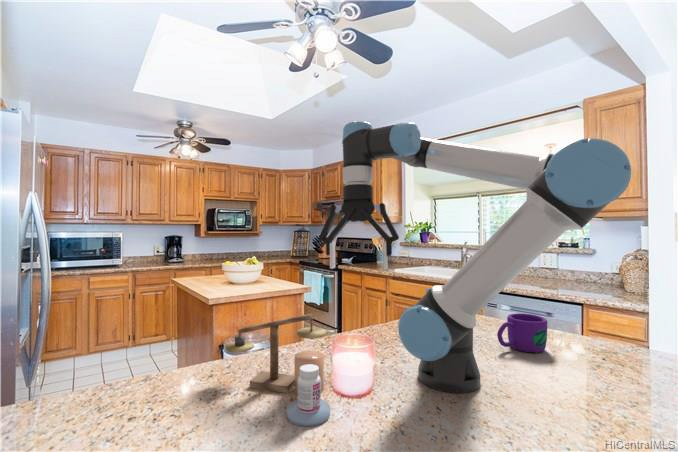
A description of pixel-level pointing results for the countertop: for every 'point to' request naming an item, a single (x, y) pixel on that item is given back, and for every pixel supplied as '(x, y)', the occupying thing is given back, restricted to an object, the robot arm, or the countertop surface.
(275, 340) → the balance
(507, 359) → the countertop surface
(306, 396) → the pill bottle
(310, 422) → the grey smooth pebble
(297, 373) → the tan upright cylinder
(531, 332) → the mug
